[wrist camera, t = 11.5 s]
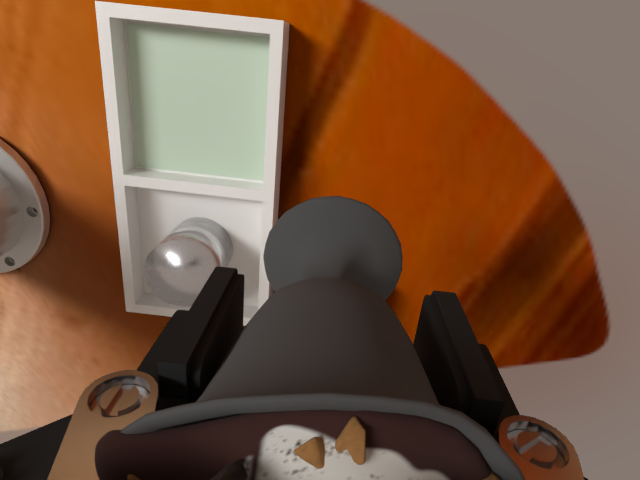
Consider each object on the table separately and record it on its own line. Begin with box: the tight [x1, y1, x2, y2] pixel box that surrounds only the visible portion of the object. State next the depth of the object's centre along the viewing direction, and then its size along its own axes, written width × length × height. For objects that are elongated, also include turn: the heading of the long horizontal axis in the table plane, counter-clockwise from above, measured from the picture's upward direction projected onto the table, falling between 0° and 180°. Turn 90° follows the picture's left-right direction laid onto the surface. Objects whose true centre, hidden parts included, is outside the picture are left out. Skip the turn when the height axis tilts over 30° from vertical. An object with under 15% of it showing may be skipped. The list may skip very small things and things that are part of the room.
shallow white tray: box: [95, 1, 290, 326], centre depth 32 cm, size 12×22×3 cm, turn 174°
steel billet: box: [144, 217, 233, 307], centre depth 32 cm, size 5×5×5 cm
